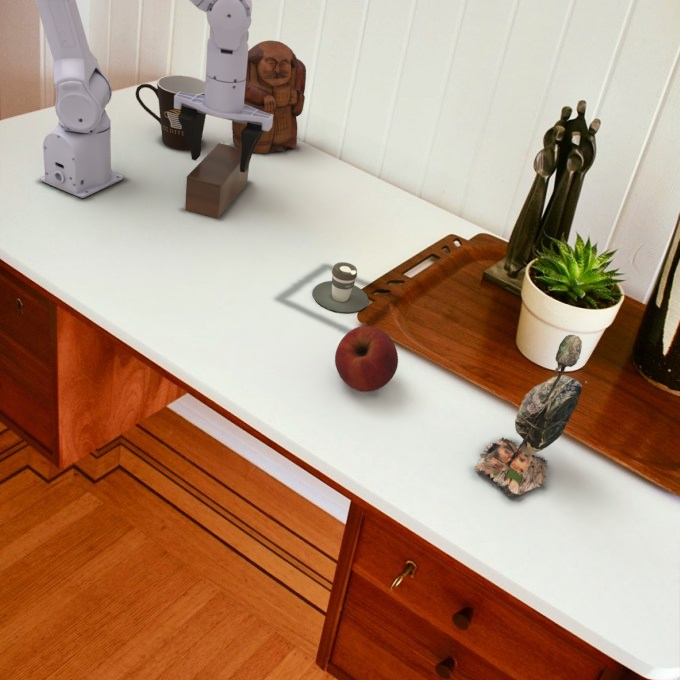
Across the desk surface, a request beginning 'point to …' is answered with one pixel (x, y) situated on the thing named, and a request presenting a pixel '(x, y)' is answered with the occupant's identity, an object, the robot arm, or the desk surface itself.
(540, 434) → the plant with pod
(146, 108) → the coffee mug
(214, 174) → the pencil box
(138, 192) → the desk surface
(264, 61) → the wooden figurine
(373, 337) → the apple
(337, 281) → the coffee cup
